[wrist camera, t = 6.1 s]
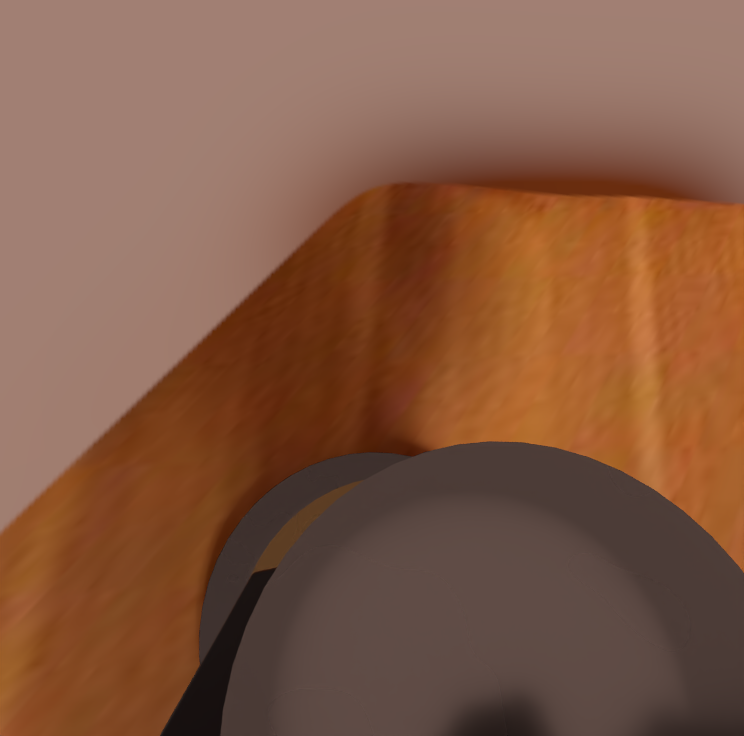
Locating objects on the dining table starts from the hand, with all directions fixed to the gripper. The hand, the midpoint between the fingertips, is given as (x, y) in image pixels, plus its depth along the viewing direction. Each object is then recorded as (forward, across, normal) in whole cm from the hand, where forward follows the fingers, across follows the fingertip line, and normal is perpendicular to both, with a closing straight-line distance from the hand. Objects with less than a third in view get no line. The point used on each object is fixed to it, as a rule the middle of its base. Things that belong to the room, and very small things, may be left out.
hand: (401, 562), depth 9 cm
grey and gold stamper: (+4, 0, +6) cm, 7 cm away
